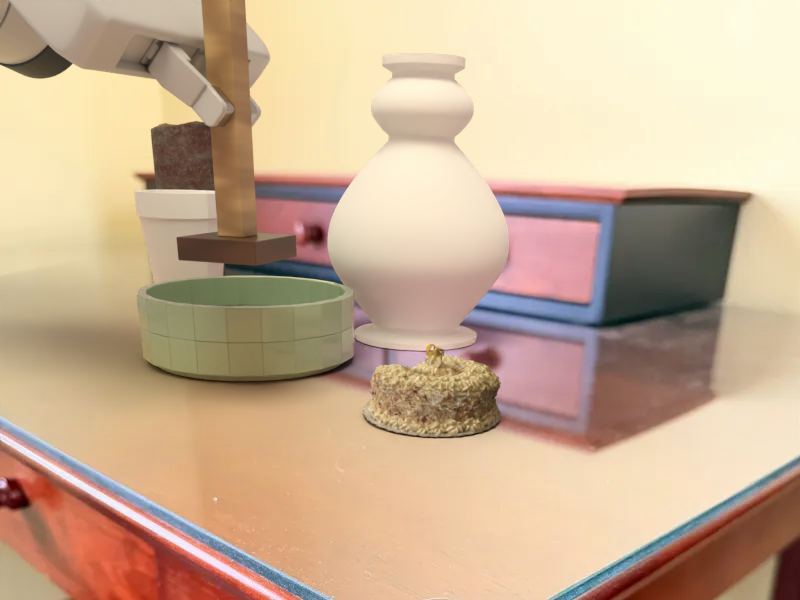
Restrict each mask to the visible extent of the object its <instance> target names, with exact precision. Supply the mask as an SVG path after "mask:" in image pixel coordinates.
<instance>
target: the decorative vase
mask: <svg viewBox="0 0 800 600" xmlns="http://www.w3.org/2000/svg"><path fill="white" fill-rule="evenodd" d="M381 59H382V63H381V64H382V67H383V68H384V69H386V70H388V71H390V73H391V78H390V79H389V80H387V82H385V83H384V84H383V85H382V86H381V87H379V89H378V90H377V91H376V92H375V93H374V95H373V98H372V100H371V105H370V112H371V115H372V118H373V119H374V121H375V123H377V125H378V126H379V127H380V128H381V130H382V131H383V132H384V133H385V134H386V135H388V140H387V141H386V142H385V144H384V145H382V147H381V148H380V149H379V150H378V151H377V152H376V153H375V154H374V155H373V156H372V158H370V159H369V161H367V163H366V164H365V165H364V166H363V167H362V169H360V170H359V172H358V173H357V174H356V176H355V177H353V180H352V181H351V182H350V184H349V185H348V187H346V189H345V191H344V193H343V194H342V196H341V197H340V199H339V200H338V203H337V204H336V207H335V208H334V211H333V213H332V216H331V218H330V222H329V224H328V225H329V226H328V231H327V255H328V258H329V261H330V264H331V266H332V268H333V270H334V272H335V274H336V275H337V277H338V278H339V280H340V281H341V284H342V285H345V286H348V287H350V288H351V289H353V290H354V301H355V302H356V303H357V305H358V306H359V308H361V310H362V312H364V314H365V315H366V316H367V317H368V319H369V320H370V321H371V322H369V323H365V324H362V325H359V326H357V327H356V328H354V340H355V341H358V342H360V343H361V344H364V345H367V346H372V347H377V348H383V349H387V350H388V349H389V350H399V351H411V352H412V351H413V352H415V351H416V352H417V351H418V352H426V348H427V346H428V345H430V344H434V345H435V346H436V347H438V348H441V349H444V351H447V350H449V351H450V350H456V349H461V348H465V347H469V346H472V345H474V344H475V343H476V342H477V337H478V335H477V331H475V330H474V329H471V328H470V327H467V326H463V325H460V324H461V323H462V322H464V320H465V319H466V318H467V317H468V316H469V315H470V314H471V312H472V311H474V309H475V308H476V307H477V305H479V303H480V302H481V301H482V300H483V298H484V297H485V296H486V295H487V294H488V292H489V291H490V290H492V287H493V286H494V285H495V284H496V282H497V281H498V279H499V278H500V276H501V275H502V273H503V271H504V269H505V268H506V265H507V262H508V259H509V252H510V234H509V227H508V223H507V220H506V216H505V214H504V212H503V209H502V207H501V205H500V203H499V200H498V199H497V198H496V196H495V194H494V192H493V190H492V189H491V187H490V186H489V184H488V183H487V182H486V180H485V179H484V177H483V175H482V174H481V173H480V172H479V170H478V169H477V167H476V166H474V164H473V163H472V162H471V160H470V159H469V158H468V157H467V156H466V153H464V152H463V151H462V149H461V148H460V147H459V146H458V145H457V144H456V142H455V137H456V136H458V135H460V134H461V132H463V130H464V129H465V128H466V127H467V126H468V125H469V124H470V122H471V121H472V119H473V117H474V111H475V109H474V108H475V106H474V102H473V99H472V97H471V95H470V93H468V91H467V90H466V89H465V88H464V87H463V85H461V84H460V83H459V82H458V81H457V80H456V79H455V75H456V74H457V73H459V72H461V71H463V70H465V68H466V57H464V56H462V55H455V54H446V53H433V52H399V53H398V52H397V53H387V54H384V55H382V58H381ZM433 350H434V346H432V347H431V349H430V351H429V352H433Z"/></svg>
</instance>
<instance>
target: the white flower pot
mask: <svg viewBox="0 0 800 600" xmlns="http://www.w3.org/2000/svg"><path fill="white" fill-rule="evenodd" d="M133 192H134V201H135V210H136V211H135V212H136V216H138V218H139V222H140V227H141V231H142V235H143V240H144V244H145V249H146V253H147V257H148V262H149V266H150V270H151V274H152V279H153V283H158V282H162V281H169V280H176V279H185V278H196V277H210V276H223V269H224V263H211V262H197V261H182V260H179V259H178V249H177V237H181V236H188V235H196V234H203V233H211V232H218V228H217V214H216V200H215V191H207V190H156V189H137V190H133Z"/></svg>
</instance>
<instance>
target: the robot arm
mask: <svg viewBox="0 0 800 600" xmlns="http://www.w3.org/2000/svg"><path fill="white" fill-rule="evenodd" d="M246 27H247V46H248V65H249V84H250V89H251V88H252V87H253V86H254V85H255V83H256V82H257V80H258V79H259V78H260V77H261V76H262V74H263V73H264V71H265V69H266V68H267V66H268V65H269V63H270V61H271V55H270V51H269V49H268V47H267V45H266V44H265V42H264V41H263V38H261V37H260V35H258V33H257V32H256V31H255V30H254V29H253V27H251V25H250V24H249V23H248V22H247V21H246ZM72 65H74V66H76V67H78V68H80V69H82V70H86V71H87V70H89V71H97V72H103V73H109V74H110V73H111V74H117V75H123V76H130V77H136V78H143V79H150V80H156V81H157V82H158V84H159V85H160V86H161V87H162V88H163V89H164V90H166V91H167V92H169V93H170V94H171V95H173V96H174V97H175V98H177V99H178V100H179V101H181V102H182V103H183V104H185V105H186V106H187V107H189V108H191V109H192V110H193V112H194V113H195V114H196V115H197V116H198V117H199V118H200V120H201V122H204V123H205V124H206V125H207V126H209V127H225V125H226V124H227V123H228V120H229V119H230V118H231V117H232V116H233V114H234V112H235V108H234V104H233V103H232V102H231V101H230V100H229V99H228V98H227V96H226V95H225V93H224V92H223V91H222V90H221V89H220V87H217V86H212V84H211V83H210V82H209V81H208V80H207V74H206V60H205V46H204V32H203V18H202V4H201V0H0V66H2V67H4V68H6V69H9V70H11V71H12V72H15V73H17V74H20V75H22V76H24V77H27V78H31V79H35V80H40V79H49V78H54V77H57V76H58V75H60V74H62V73H64V72H65V71H66V70H68V69H69V68H70V67H71V66H72ZM250 103H251V123H252V128H253V127H254V125H255V124H256V122H257V121H258V120H259V119H260V117H261V115H262V110H261V107H260V106H259V105H258V103H257V102H256V101H255V99H254V98H253V97H252V96H251V95H250Z"/></svg>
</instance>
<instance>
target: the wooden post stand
mask: <svg viewBox="0 0 800 600" xmlns="http://www.w3.org/2000/svg"><path fill="white" fill-rule="evenodd" d="M201 4H202V18H203V32H204V46H205V60H206V74H207V80H208V81H209V82H210V83H211V84H212V86H217V87H220V89H221V90H222V91H223V92H224V93H225V95H226V96H227V98H228V99H229V100H230V101H231V102H232V103H233V104H234V108H235V112H234V114H233V116H232V117H231V118H230V119H229V120H228V123H227V124H226V125H225V127H210V130H211V144H212V158H213V172H214V186H215V200H216V214H217V228H218V232H211V233H203V234H196V235H188V236H181V237H177V249H178V259H179V260H182V261H197V262H211V263H225V265H226V264H229V265H242V266H256V267H257V266H261V265H266V264H268V263H269V264H270V263H274V262H280V261H284V260H288V259H293V258H296V257H298V256H297V255H298V253H297V235H296V234H288V233H287V234H286V233H271V232H258V221H257V220H258V219H257V200H256V183H255V181H256V180H255V164H254V143H253V127H252V123H251V103H250V96H251V88H250V84H249V65H248V46H247V27H246V22H247V13H246V0H201Z"/></svg>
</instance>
